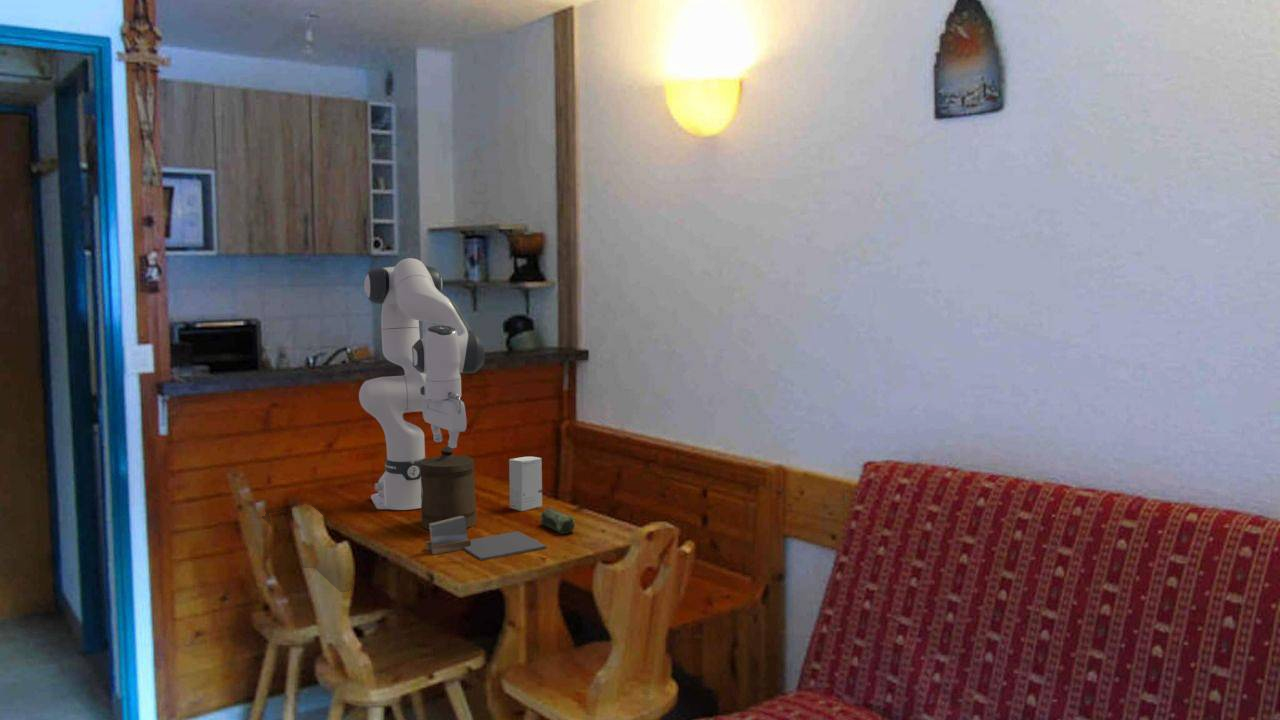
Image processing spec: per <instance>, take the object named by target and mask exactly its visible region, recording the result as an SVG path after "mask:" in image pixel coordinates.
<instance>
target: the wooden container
mask: <svg viewBox="0 0 1280 720" xmlns="http://www.w3.org/2000/svg"><path fill="white" fill-rule="evenodd" d="M453 452H454V448H450V447H448V445H446V446H443V447H442V448H441V449H440V453H441V455H438V456H432V457H426V459H424V460H422V461H421V508H420V509H421V525H422V528H424V529H425V530H428V531H430V528H429V524H431V523H435V522H439V521H442V520H446V519H450V518H454V517H458V516H463V517H465V523H466V529H468V528H471V527H473V526H475V525H476V524H477V512H476V509H477V508H476V507H477V505H476V489H475V488H476V487H475V485H476V484H475V464H474V459H473V458H472V457H470V456H466V455H454V454H453Z"/></svg>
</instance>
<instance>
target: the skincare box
mask: <svg viewBox="0 0 1280 720" xmlns="http://www.w3.org/2000/svg"><path fill="white" fill-rule="evenodd" d="M542 459H543V458H542V457H537V456H532V455H529V456H522V457H517V458H516V457H514V458H509V460H508V467H509V468H508V472H509V509H514V510H516V511H519V512H524V511H528V510H531V509H536V508H541V507H543V474H542V473H543V471H542V470H543V469H542V466H543V462H542Z"/></svg>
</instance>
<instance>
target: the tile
mask: <svg viewBox="0 0 1280 720" xmlns="http://www.w3.org/2000/svg"><path fill="white" fill-rule="evenodd" d="M429 528H430V530H429V535H430V541H431V545H437V544H442V543H448V542H454V541H459V540H465V539H468V534H467V528H466V523H465V517H463V516H458V517H454V518H450V519H446V520H442V521H439V522H435V523H431V524H429Z"/></svg>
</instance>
